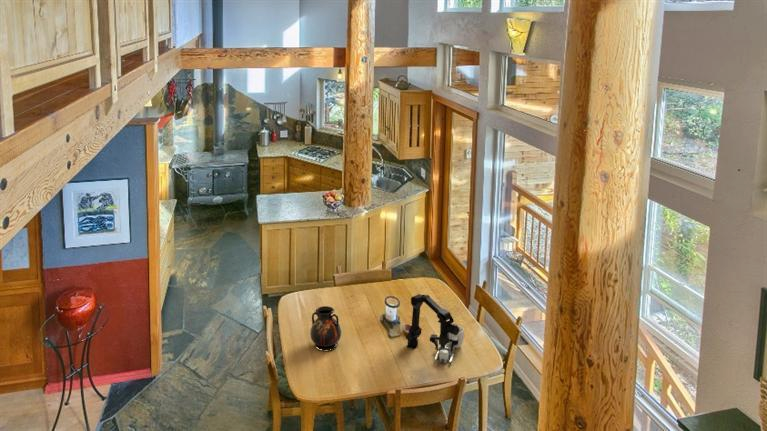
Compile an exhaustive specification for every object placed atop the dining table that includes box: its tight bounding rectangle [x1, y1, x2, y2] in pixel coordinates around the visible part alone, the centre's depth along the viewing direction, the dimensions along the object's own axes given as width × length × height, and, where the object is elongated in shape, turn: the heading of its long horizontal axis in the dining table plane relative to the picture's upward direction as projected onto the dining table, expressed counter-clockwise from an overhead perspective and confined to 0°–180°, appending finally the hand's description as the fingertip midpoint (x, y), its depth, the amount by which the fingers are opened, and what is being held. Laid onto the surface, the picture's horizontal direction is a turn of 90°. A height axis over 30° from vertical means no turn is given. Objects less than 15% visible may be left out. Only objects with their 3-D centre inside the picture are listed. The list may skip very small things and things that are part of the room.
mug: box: [448, 325, 465, 349], centre depth 450 cm, size 15×11×13 cm
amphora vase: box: [309, 305, 342, 351], centre depth 449 cm, size 22×22×28 cm
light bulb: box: [438, 350, 449, 365], centre depth 430 cm, size 6×8×7 cm
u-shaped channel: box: [434, 344, 456, 366], centre depth 435 cm, size 14×17×8 cm
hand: (444, 350), depth 430 cm, fingers open, 9 cm apart
